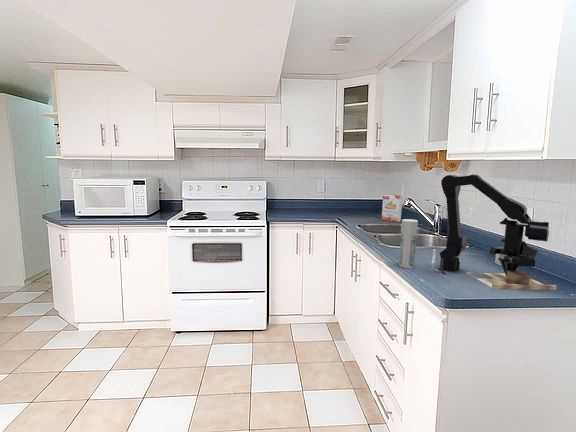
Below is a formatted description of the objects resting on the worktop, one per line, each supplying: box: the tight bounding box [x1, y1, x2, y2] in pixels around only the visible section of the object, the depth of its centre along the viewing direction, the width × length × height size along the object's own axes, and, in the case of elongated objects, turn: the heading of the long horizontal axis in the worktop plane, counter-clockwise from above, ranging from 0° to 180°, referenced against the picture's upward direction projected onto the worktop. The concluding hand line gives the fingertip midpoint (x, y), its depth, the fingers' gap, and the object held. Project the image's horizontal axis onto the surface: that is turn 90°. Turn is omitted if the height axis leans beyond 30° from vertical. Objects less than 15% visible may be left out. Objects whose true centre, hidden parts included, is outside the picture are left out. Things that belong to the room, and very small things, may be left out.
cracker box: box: [381, 193, 404, 223], centre depth 290 cm, size 14×6×21 cm, turn 50°
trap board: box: [467, 272, 558, 291], centre depth 136 cm, size 22×19×3 cm
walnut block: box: [506, 270, 531, 284], centre depth 131 cm, size 5×5×4 cm
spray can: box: [398, 218, 419, 269], centre depth 156 cm, size 6×6×20 cm
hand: (508, 278), depth 136 cm, fingers closed
